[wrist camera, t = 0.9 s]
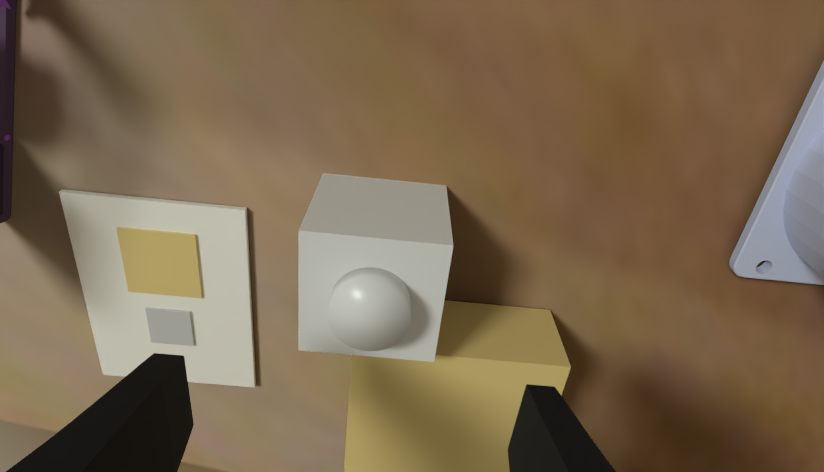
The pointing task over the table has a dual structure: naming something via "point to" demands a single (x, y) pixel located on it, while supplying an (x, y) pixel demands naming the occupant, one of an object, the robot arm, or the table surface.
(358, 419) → the base brick
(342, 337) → the top brick
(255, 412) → the table surface
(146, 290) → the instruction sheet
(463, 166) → the table surface
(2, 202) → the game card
